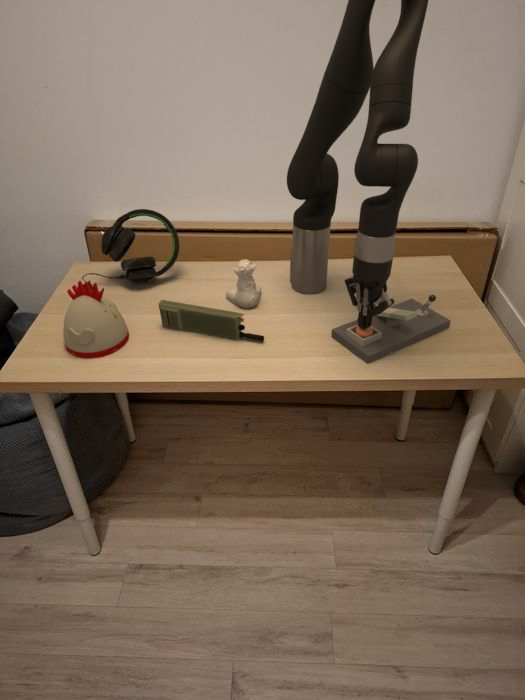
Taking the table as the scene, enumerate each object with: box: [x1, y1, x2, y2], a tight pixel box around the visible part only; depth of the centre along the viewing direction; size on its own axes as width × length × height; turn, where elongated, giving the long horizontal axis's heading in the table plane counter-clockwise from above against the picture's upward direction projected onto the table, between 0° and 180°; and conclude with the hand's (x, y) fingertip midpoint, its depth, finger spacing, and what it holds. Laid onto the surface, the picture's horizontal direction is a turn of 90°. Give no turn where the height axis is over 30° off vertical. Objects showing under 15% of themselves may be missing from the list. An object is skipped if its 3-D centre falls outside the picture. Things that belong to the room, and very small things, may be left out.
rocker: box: [378, 308, 417, 321], centre depth 108 cm, size 10×3×1 cm, turn 32°
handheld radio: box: [158, 299, 265, 342], centre depth 109 cm, size 7×3×25 cm
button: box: [356, 326, 373, 339], centre depth 105 cm, size 4×4×2 cm
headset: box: [81, 208, 180, 290], centre depth 126 cm, size 18×14×29 cm
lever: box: [421, 294, 437, 312], centre depth 110 cm, size 2×2×6 cm
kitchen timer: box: [62, 280, 130, 359], centre depth 105 cm, size 14×14×15 cm
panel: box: [330, 297, 452, 365], centre depth 109 cm, size 12×25×4 cm, turn 122°
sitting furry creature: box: [225, 258, 262, 309], centre depth 119 cm, size 10×9×12 cm
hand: (363, 326), depth 104 cm, fingers closed
